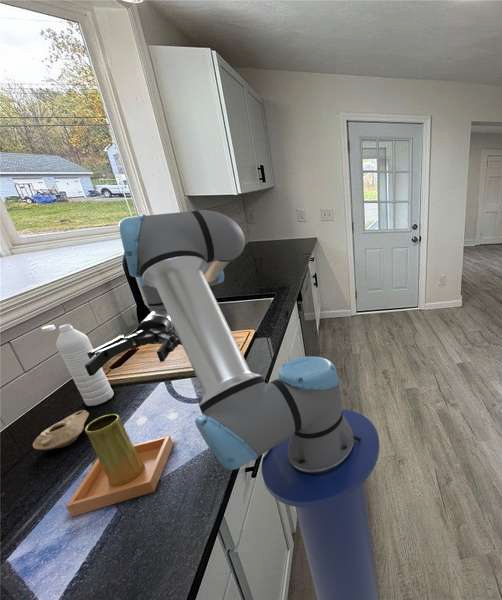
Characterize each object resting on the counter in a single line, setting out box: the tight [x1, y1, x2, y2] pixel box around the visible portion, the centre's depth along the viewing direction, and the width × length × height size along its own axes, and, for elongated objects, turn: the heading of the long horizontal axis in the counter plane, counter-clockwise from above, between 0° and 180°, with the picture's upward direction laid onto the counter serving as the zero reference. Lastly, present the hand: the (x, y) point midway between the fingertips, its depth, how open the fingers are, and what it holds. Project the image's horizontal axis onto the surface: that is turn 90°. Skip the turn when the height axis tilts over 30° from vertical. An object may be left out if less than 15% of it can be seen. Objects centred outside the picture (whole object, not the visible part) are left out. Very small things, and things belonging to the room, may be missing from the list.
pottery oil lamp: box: [32, 409, 90, 451], centre depth 79 cm, size 9×12×7 cm
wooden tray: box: [65, 434, 174, 517], centre depth 68 cm, size 14×14×3 cm
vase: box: [84, 413, 144, 486], centre depth 66 cm, size 6×6×14 cm
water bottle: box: [40, 323, 115, 407], centre depth 90 cm, size 9×6×25 cm
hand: (125, 363), depth 72 cm, fingers open, 13 cm apart
